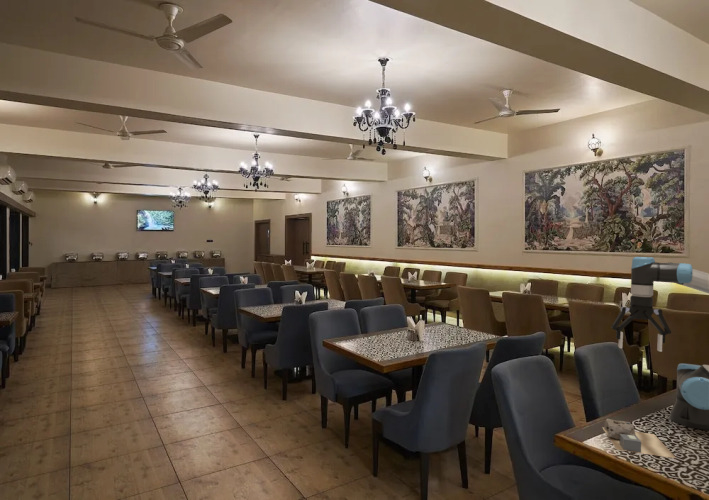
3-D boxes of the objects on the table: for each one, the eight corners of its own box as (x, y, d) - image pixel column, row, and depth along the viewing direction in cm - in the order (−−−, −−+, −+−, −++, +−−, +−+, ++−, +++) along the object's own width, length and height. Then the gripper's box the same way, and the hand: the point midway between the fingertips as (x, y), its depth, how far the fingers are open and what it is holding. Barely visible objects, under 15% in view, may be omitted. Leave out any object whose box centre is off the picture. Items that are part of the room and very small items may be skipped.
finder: (635, 446, 151) (636, 435, 151) (640, 452, 146) (641, 440, 146) (619, 443, 153) (619, 432, 153) (623, 449, 148) (624, 438, 148)
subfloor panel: (654, 436, 162) (654, 434, 162) (676, 460, 143) (676, 458, 143) (602, 429, 167) (602, 427, 167) (616, 451, 148) (616, 449, 148)
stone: (604, 417, 169) (635, 420, 163) (605, 433, 167) (636, 437, 162) (601, 421, 158) (634, 425, 152) (602, 438, 157) (635, 443, 151)
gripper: (674, 297, 176) (672, 350, 176) (604, 293, 183) (602, 344, 183) (682, 298, 169) (680, 354, 169) (608, 294, 176) (606, 348, 176)
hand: (639, 349), depth 176 cm, fingers open, 13 cm apart
